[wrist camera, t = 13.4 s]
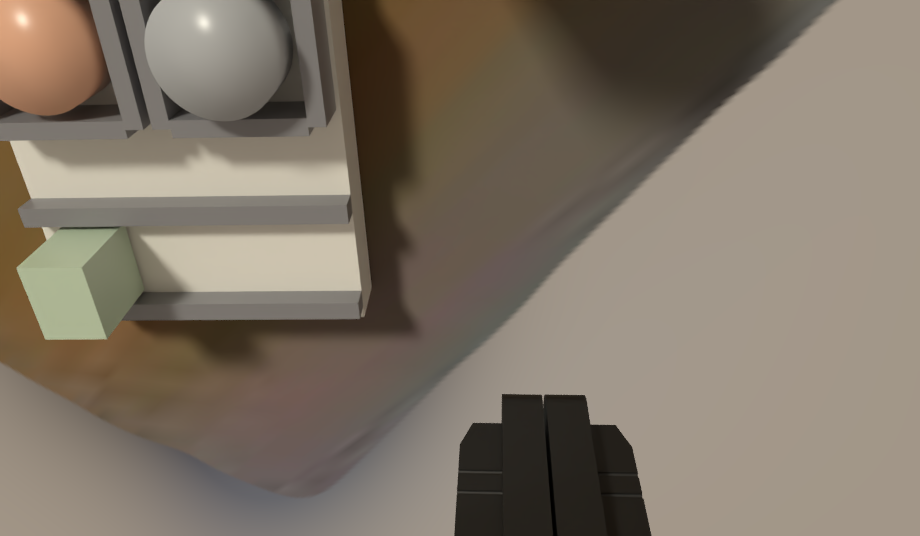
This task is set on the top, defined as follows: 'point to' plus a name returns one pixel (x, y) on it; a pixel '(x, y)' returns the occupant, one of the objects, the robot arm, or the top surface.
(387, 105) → the top surface
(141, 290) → the sage slider
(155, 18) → the grey button
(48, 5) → the terracotta button
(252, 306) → the panel
